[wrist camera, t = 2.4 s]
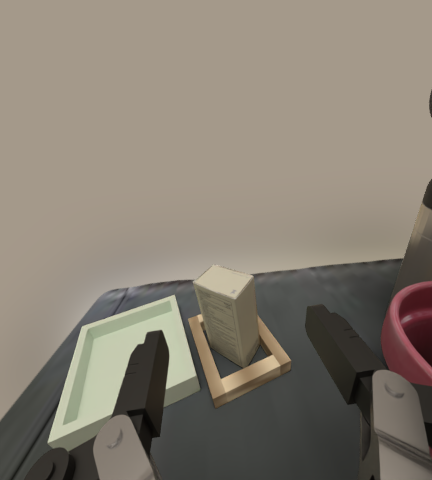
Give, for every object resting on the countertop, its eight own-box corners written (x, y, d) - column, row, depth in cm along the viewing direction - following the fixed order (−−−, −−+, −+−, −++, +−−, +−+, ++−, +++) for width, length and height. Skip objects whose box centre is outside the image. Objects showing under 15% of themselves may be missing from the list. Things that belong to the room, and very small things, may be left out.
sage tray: (178, 307, 38) (174, 294, 36) (200, 389, 25) (196, 375, 23) (89, 339, 34) (82, 326, 32) (62, 456, 21) (47, 443, 20)
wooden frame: (245, 306, 36) (244, 297, 35) (290, 370, 25) (291, 360, 24) (190, 327, 33) (188, 319, 32) (215, 408, 23) (213, 399, 22)
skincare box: (261, 344, 29) (257, 275, 23) (245, 372, 26) (236, 300, 20) (224, 325, 33) (214, 262, 27) (207, 347, 30) (191, 281, 24)
